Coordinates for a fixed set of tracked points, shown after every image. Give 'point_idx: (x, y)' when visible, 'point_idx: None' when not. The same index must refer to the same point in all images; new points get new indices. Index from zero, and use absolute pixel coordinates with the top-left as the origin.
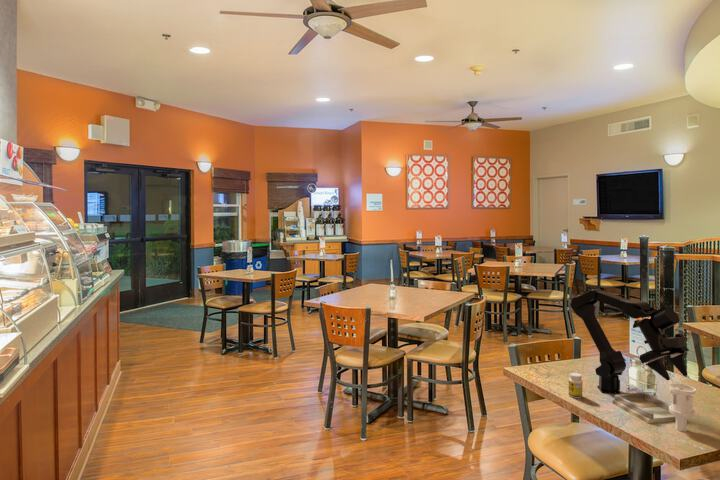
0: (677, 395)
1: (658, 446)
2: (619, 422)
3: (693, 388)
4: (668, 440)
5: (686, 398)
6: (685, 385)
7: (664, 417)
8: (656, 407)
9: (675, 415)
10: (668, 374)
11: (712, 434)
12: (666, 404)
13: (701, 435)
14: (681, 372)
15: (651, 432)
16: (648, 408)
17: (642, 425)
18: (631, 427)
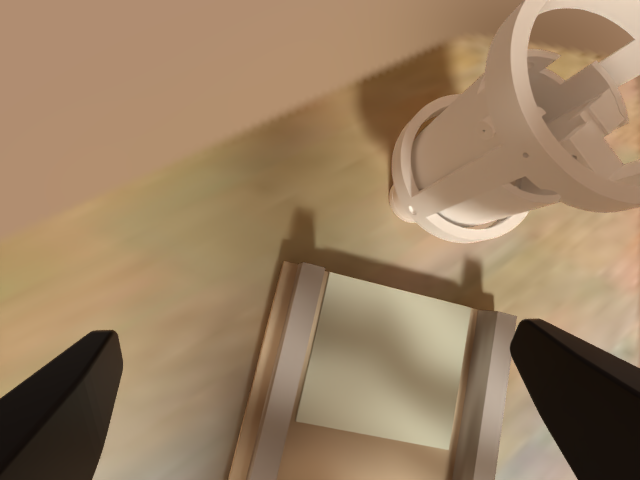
0: (623, 121)
1: (627, 154)
2: None
3: (541, 7)
4: None
5: (455, 141)
6: (530, 104)
7: (414, 293)
8: (325, 415)
9: (332, 283)
10: (585, 355)
11: (329, 96)
12: (293, 379)
13: (386, 117)
14: (103, 434)
15: (557, 244)
16: (383, 425)
17: (536, 311)
18: (595, 319)
